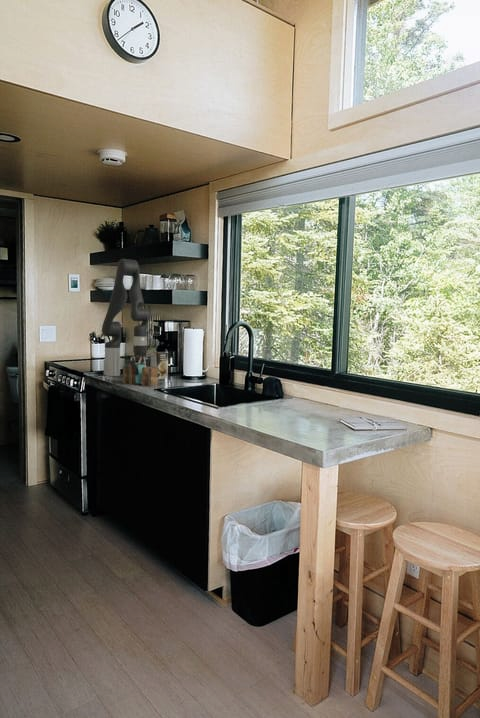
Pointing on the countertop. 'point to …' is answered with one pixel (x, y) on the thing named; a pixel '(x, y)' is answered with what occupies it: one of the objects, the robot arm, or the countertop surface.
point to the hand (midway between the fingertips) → (140, 374)
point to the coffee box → (160, 363)
